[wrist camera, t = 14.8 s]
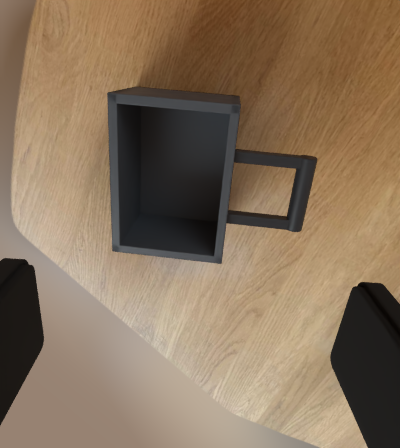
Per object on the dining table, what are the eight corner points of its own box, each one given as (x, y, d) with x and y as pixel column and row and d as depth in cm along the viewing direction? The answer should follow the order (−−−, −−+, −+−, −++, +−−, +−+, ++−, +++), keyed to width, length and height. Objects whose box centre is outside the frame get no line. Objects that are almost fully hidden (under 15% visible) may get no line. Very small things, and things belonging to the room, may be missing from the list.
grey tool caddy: (135, 216, 43) (112, 251, 35) (135, 86, 37) (107, 92, 29) (283, 232, 42) (295, 272, 34) (310, 102, 36) (332, 113, 28)
